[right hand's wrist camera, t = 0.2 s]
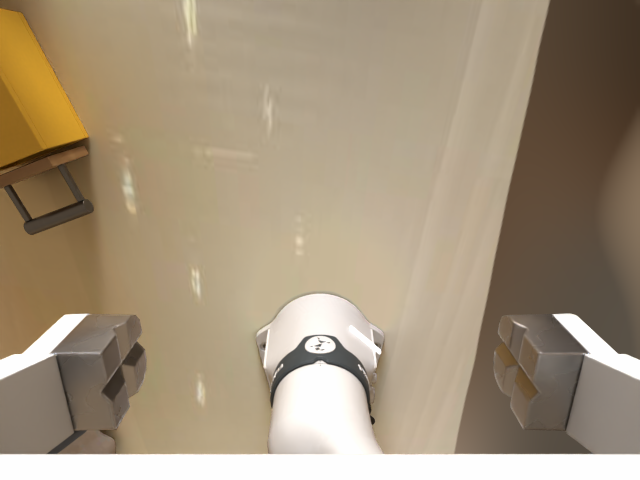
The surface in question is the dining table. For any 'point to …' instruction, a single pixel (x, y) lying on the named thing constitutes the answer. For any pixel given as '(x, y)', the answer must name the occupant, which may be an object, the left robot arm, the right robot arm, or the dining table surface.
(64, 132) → the cabinet
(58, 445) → the left robot arm
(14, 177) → the drawer
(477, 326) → the dining table surface
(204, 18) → the dining table surface
